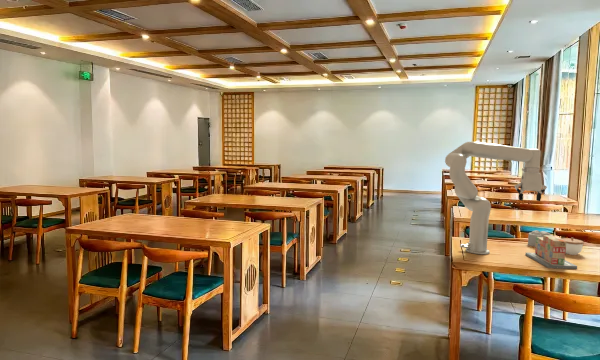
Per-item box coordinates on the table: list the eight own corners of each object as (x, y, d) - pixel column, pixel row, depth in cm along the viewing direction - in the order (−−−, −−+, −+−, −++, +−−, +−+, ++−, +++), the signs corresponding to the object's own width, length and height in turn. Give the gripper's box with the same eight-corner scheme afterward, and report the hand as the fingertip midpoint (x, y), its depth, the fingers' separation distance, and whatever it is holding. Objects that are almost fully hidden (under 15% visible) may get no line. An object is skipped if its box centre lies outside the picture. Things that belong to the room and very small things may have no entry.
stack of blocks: (534, 252, 232) (536, 231, 231) (546, 253, 231) (548, 232, 230) (551, 263, 211) (553, 240, 210) (564, 264, 210) (566, 241, 209)
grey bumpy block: (554, 247, 252) (555, 233, 251) (533, 247, 251) (534, 233, 251) (543, 243, 263) (544, 229, 262) (523, 243, 262) (524, 229, 261)
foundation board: (548, 268, 209) (548, 265, 209) (525, 255, 233) (525, 252, 233) (577, 269, 209) (577, 266, 208) (550, 255, 232) (551, 253, 232)
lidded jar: (559, 250, 246) (561, 234, 245) (581, 252, 240) (582, 237, 240) (560, 254, 237) (561, 238, 236) (582, 257, 231) (584, 240, 230)
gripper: (519, 170, 231) (517, 201, 233) (551, 171, 230) (548, 202, 232) (513, 169, 239) (511, 199, 240) (543, 170, 238) (541, 200, 239)
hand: (529, 200), depth 236 cm, fingers open, 9 cm apart
